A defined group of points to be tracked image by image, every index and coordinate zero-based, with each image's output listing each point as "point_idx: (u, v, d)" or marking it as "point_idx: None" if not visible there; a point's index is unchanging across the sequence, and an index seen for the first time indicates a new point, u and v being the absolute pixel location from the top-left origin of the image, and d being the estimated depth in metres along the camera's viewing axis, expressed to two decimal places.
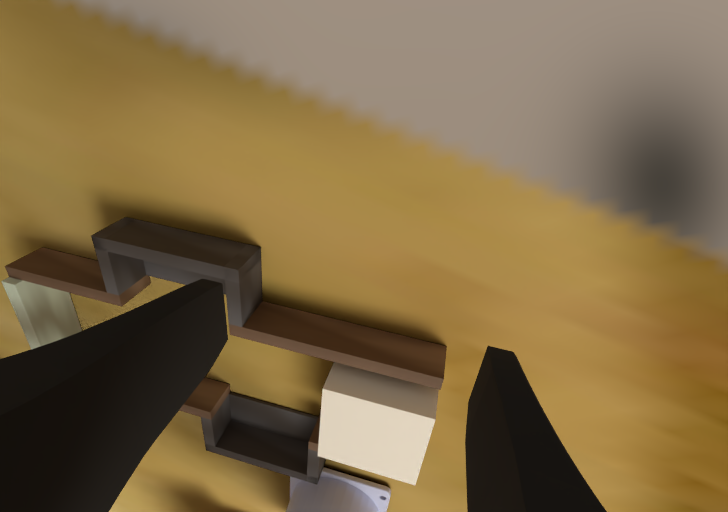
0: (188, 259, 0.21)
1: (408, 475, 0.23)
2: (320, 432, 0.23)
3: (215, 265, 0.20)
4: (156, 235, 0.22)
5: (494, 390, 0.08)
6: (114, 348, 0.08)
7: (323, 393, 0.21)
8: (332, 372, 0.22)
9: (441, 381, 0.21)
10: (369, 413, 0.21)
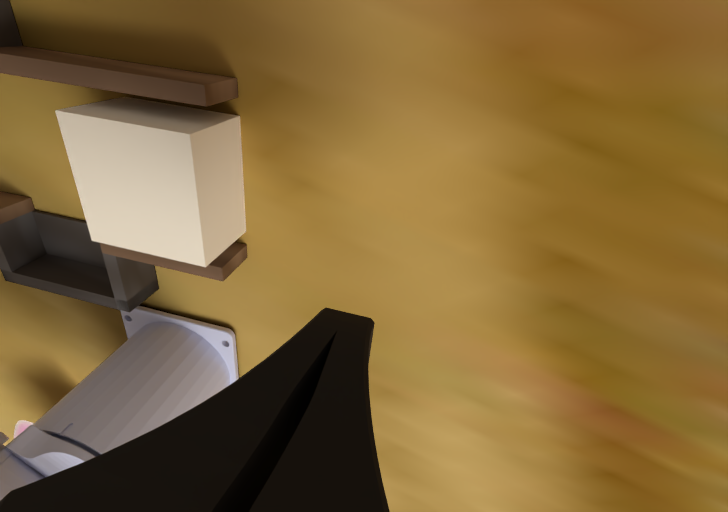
0: None
1: (193, 250, 0.18)
2: (80, 195, 0.18)
3: None
4: None
5: None
6: (287, 396, 0.07)
7: (59, 119, 0.16)
8: (83, 105, 0.17)
9: (203, 90, 0.16)
10: (117, 143, 0.16)
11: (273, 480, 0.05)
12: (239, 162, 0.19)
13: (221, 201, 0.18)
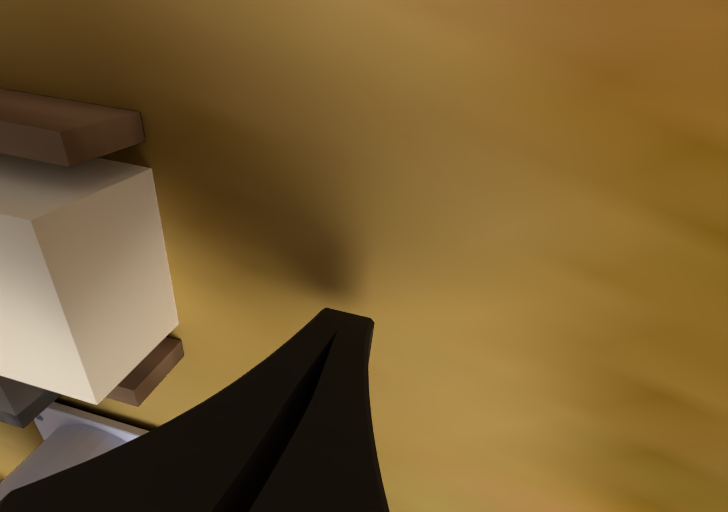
0: None
1: (74, 382, 0.11)
2: None
3: None
4: None
5: None
6: (287, 396, 0.07)
7: None
8: None
9: (59, 140, 0.09)
10: None
11: (273, 480, 0.05)
12: (157, 235, 0.13)
13: (123, 300, 0.12)
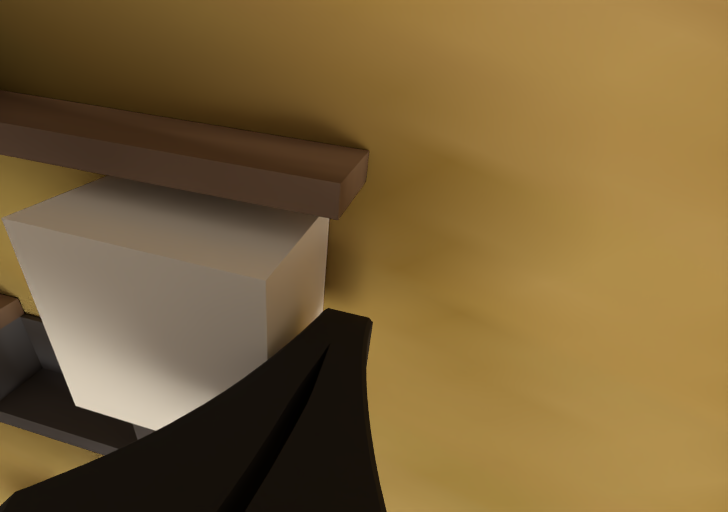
0: None
1: None
2: (54, 347, 0.10)
3: None
4: None
5: None
6: (290, 396, 0.07)
7: (9, 233, 0.09)
8: (58, 198, 0.09)
9: (336, 192, 0.08)
10: (120, 281, 0.09)
11: (270, 479, 0.05)
12: (320, 275, 0.12)
13: None
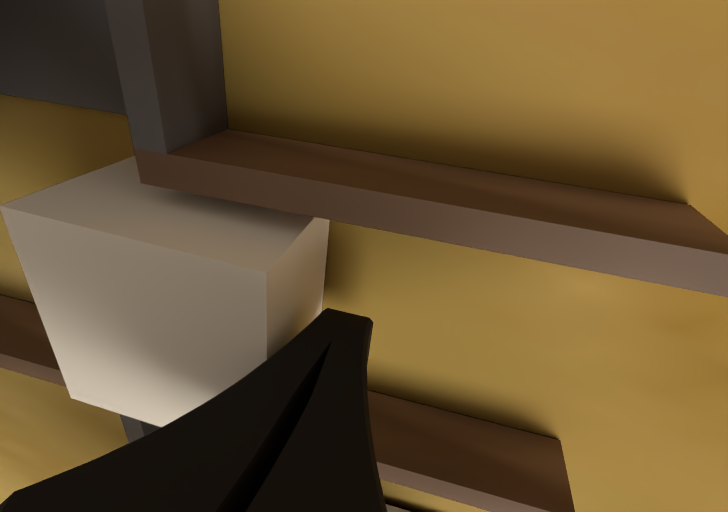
0: None
1: None
2: (50, 338, 0.10)
3: None
4: None
5: None
6: (289, 396, 0.07)
7: (6, 221, 0.09)
8: (57, 187, 0.09)
9: None
10: (119, 271, 0.08)
11: (271, 479, 0.05)
12: (320, 270, 0.12)
13: None
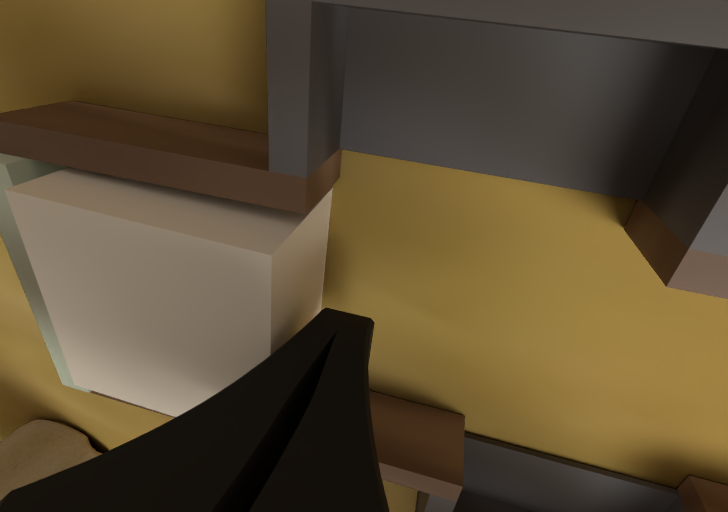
0: None
1: None
2: (54, 324, 0.10)
3: None
4: None
5: None
6: (287, 396, 0.07)
7: (12, 205, 0.09)
8: (61, 172, 0.09)
9: None
10: (124, 255, 0.08)
11: (273, 480, 0.05)
12: (323, 259, 0.12)
13: (297, 332, 0.11)
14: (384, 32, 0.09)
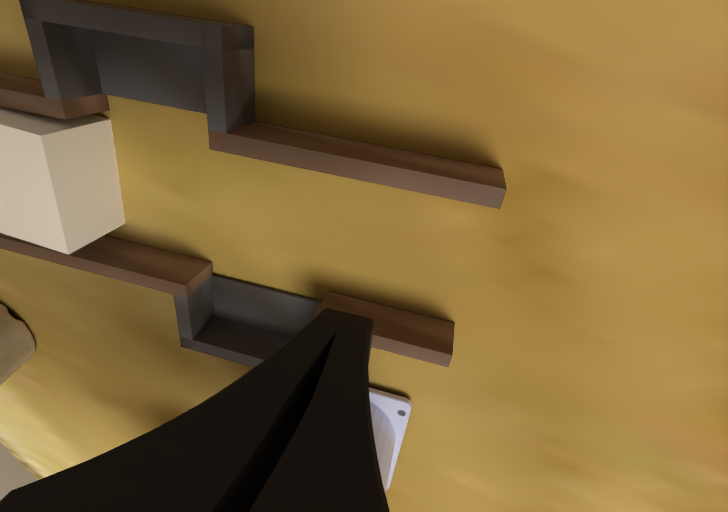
0: (151, 16, 0.15)
1: (56, 238, 0.20)
2: None
3: (188, 22, 0.15)
4: (110, 6, 0.16)
5: None
6: (287, 396, 0.07)
7: None
8: None
9: (503, 193, 0.15)
10: None
11: (273, 480, 0.05)
12: (112, 160, 0.21)
13: (88, 195, 0.20)
14: (106, 34, 0.18)
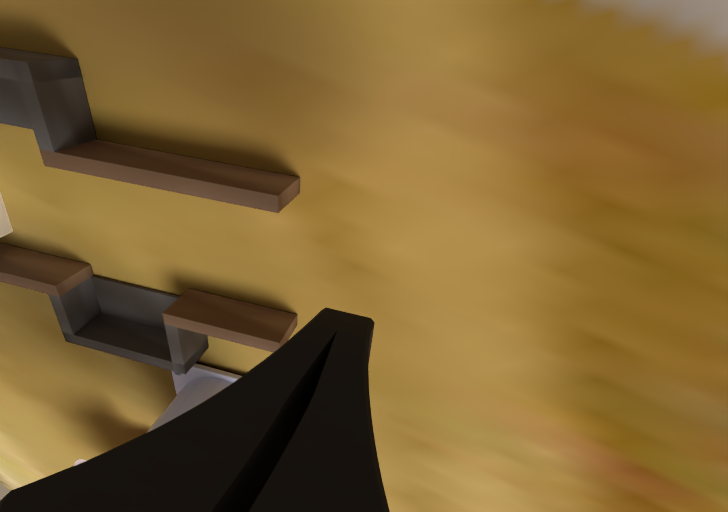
0: None
1: None
2: None
3: (2, 60, 0.17)
4: None
5: None
6: (287, 396, 0.07)
7: None
8: None
9: (276, 199, 0.17)
10: None
11: (273, 480, 0.05)
12: None
13: None
14: None
